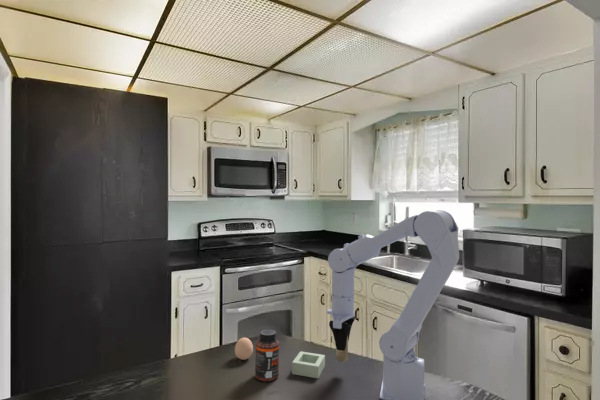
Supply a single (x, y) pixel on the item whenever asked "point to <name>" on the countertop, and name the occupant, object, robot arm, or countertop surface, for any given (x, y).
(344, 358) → the beech peg
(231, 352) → the countertop surface
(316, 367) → the hole block
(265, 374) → the supplement bottle
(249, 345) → the egg
